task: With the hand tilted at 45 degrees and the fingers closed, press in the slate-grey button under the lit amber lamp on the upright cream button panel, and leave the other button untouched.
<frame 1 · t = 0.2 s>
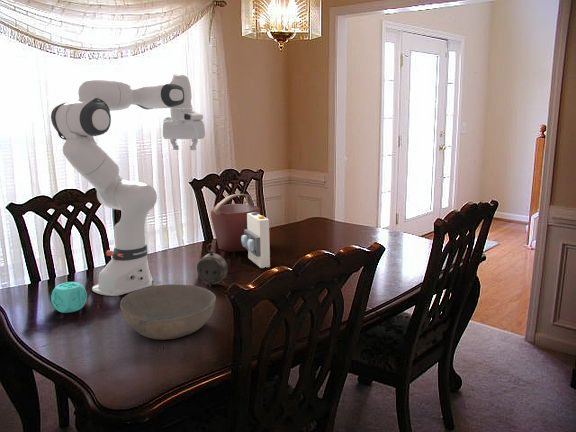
hand: (184, 150, 215), 48 cm above the table, tool pointing down, fingers open, 8 cm apart
decorative dice: (70, 308, 175), on the table
alarm clock: (212, 286, 195), on the table
button panel: (254, 262, 222), on the table
bucket: (237, 247, 247), on the table
button lit: (251, 245, 215), point 9 cm above the table, slide at 0.0 cm
button unlit: (245, 240, 223), point 9 cm above the table, slide at 0.0 cm
bowl: (170, 329, 157), on the table
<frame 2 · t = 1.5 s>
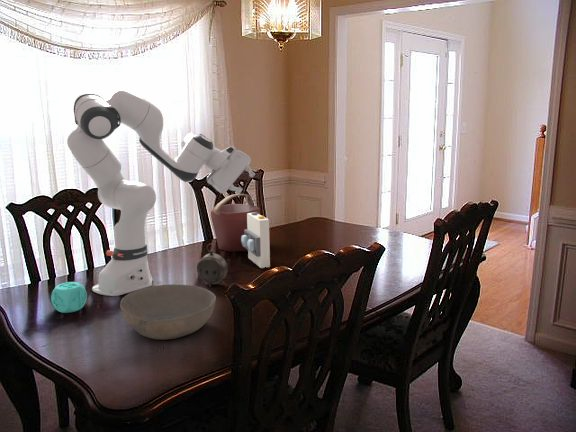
hand: (247, 183, 206), 35 cm above the table, tool tilted 55°, fingers open, 8 cm apart
nothing on the table moved.
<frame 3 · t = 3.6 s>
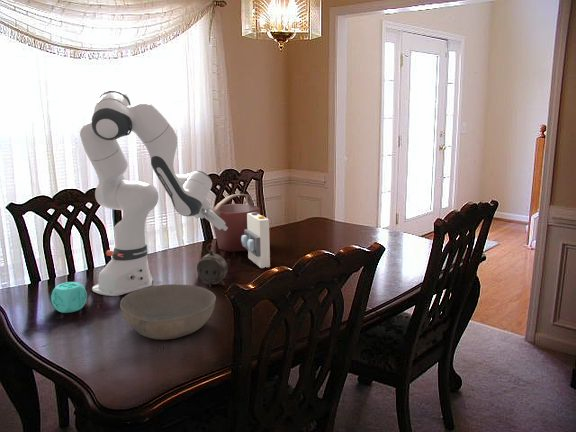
hand: (225, 228, 208), 17 cm above the table, tool tilted 45°, fingers closed
nothing on the table moved.
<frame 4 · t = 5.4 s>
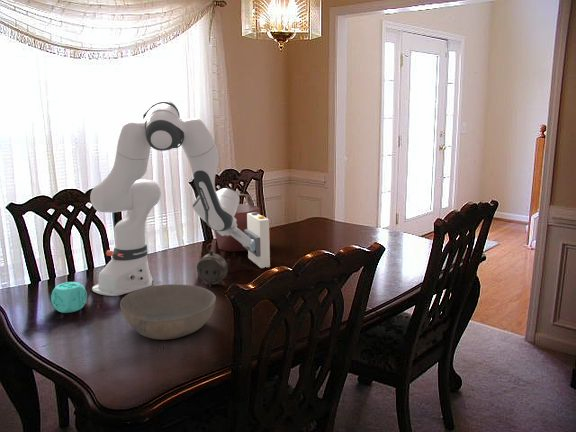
hand: (249, 245, 215), 9 cm above the table, tool tilted 45°, fingers closed, pressing on button lit
button lit: (253, 245, 216), point 9 cm above the table, slide at 0.8 cm, touching gripper
everything else where it was.
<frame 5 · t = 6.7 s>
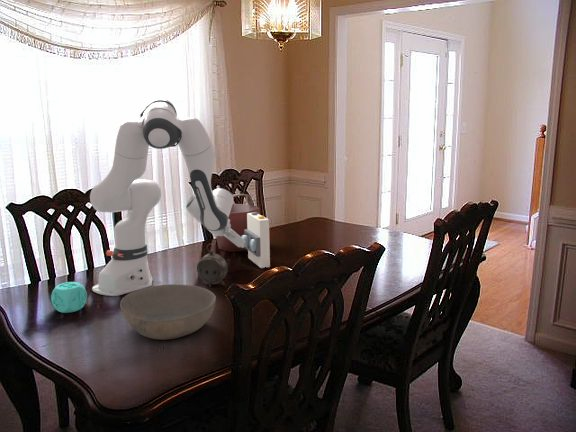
hand: (243, 245, 215), 9 cm above the table, tool tilted 45°, fingers closed
button lit: (254, 245, 216), point 9 cm above the table, slide at 1.3 cm
everything else where it was.
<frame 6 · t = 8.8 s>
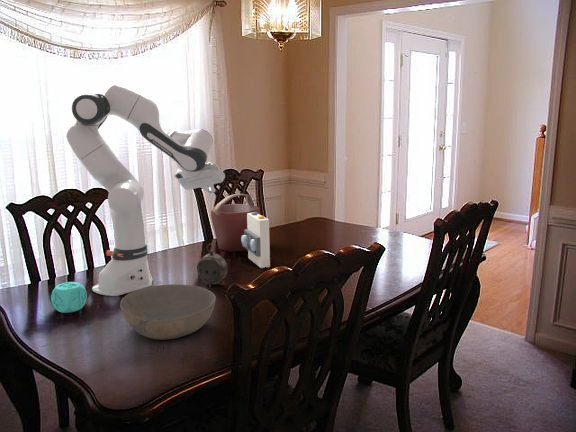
hand: (212, 192, 211), 31 cm above the table, tool tilted 40°, fingers closed
nothing on the table moved.
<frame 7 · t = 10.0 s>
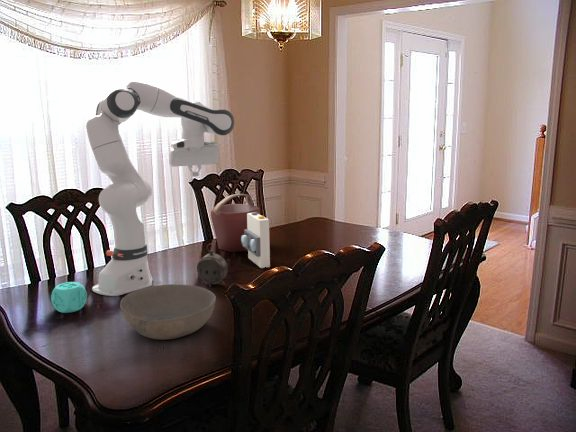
hand: (195, 176, 216), 37 cm above the table, tool pointing down, fingers closed
nothing on the table moved.
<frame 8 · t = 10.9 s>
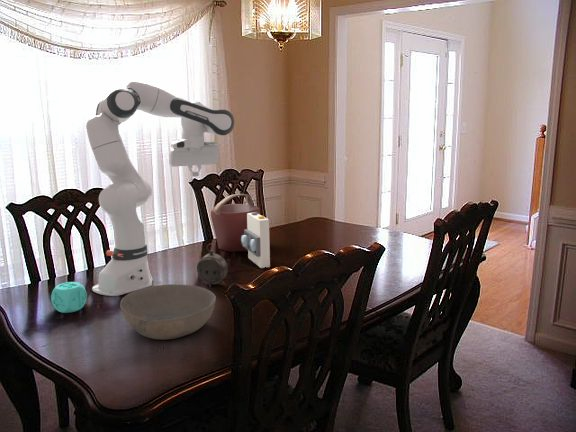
hand: (195, 176, 216), 37 cm above the table, tool pointing down, fingers closed
nothing on the table moved.
at the end: button lit slide at 1.3 cm; button unlit slide at 0.0 cm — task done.
